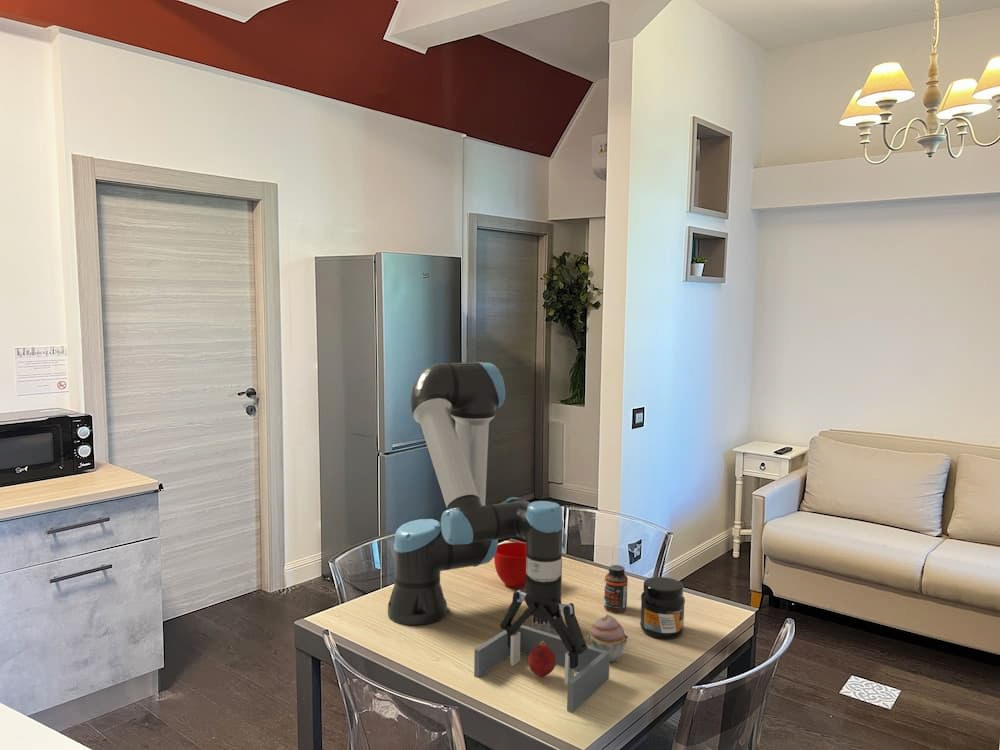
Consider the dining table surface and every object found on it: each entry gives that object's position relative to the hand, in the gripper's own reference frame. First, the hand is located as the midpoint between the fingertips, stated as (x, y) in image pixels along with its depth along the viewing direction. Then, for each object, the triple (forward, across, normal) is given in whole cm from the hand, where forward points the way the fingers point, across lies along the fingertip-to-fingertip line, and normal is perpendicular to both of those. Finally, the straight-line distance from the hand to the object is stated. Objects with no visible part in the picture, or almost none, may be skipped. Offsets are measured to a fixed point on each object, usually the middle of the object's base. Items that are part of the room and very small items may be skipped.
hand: (541, 672), depth 157 cm
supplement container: (+2, +12, +37) cm, 39 cm away
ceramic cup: (+1, -32, +42) cm, 53 cm away
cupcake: (+2, +7, +17) cm, 18 cm away
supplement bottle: (+2, -3, +42) cm, 42 cm away
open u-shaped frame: (+1, 0, 0) cm, 1 cm away
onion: (+2, 0, 0) cm, 2 cm away
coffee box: (+2, -12, +22) cm, 25 cm away
